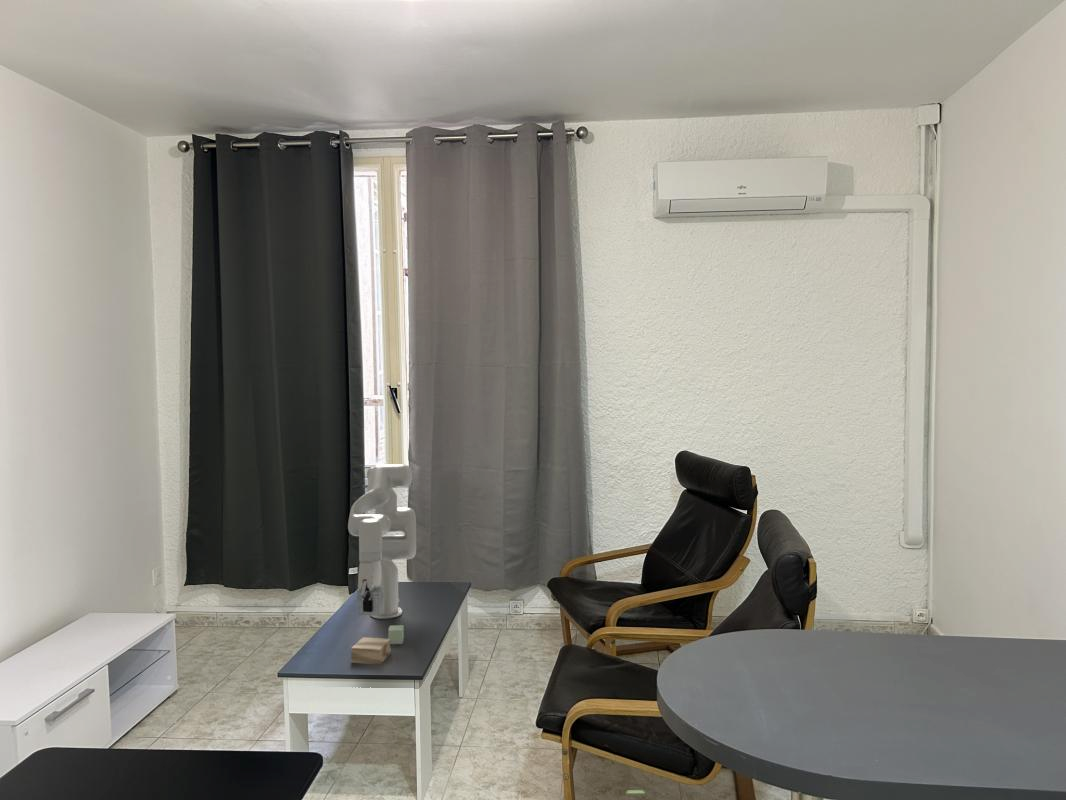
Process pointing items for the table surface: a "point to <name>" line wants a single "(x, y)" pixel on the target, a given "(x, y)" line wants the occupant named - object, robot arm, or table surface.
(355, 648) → the oak block
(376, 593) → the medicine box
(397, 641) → the green cube
